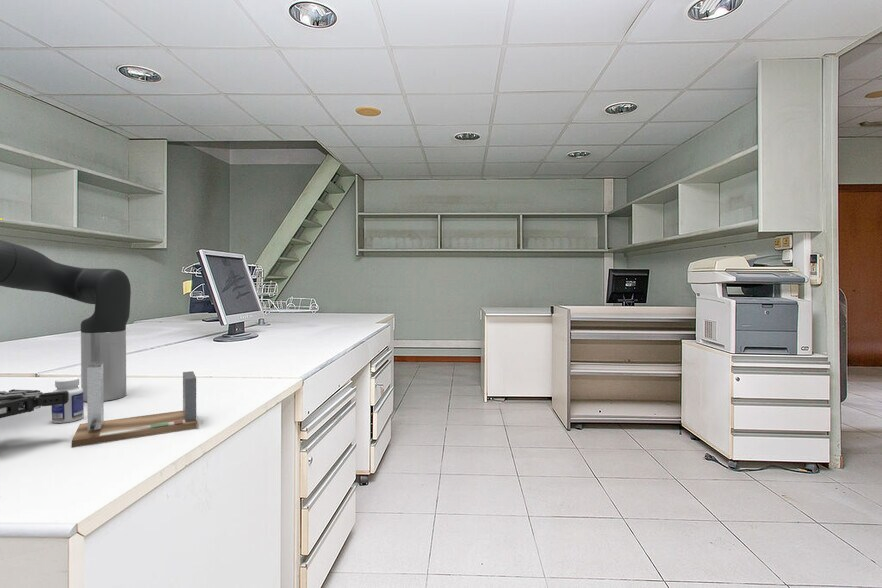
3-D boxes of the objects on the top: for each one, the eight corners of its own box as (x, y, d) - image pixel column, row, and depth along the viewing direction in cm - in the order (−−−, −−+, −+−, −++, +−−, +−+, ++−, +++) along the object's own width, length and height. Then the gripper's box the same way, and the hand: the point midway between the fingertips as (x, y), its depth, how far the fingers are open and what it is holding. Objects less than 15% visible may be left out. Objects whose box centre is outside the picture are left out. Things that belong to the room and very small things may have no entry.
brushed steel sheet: (91, 422, 88) (90, 362, 88) (103, 420, 89) (103, 362, 89) (85, 436, 80) (84, 371, 80) (99, 434, 82) (98, 370, 81)
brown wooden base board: (79, 429, 89) (79, 422, 89) (192, 414, 100) (192, 407, 100) (71, 447, 80) (71, 439, 80) (196, 428, 91) (196, 421, 91)
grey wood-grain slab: (182, 412, 98) (182, 372, 97) (193, 410, 99) (193, 371, 98) (185, 422, 91) (185, 379, 91) (196, 420, 92) (196, 377, 92)
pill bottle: (82, 414, 99) (81, 375, 99) (85, 420, 95) (84, 379, 95) (50, 419, 95) (50, 378, 95) (52, 425, 91) (52, 383, 91)
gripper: (-83, 397, 69) (62, 384, 78) (-51, 381, 80) (73, 371, 89) (-82, 445, 69) (62, 426, 78) (-50, 422, 80) (73, 407, 89)
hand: (68, 397), depth 84 cm, fingers closed
